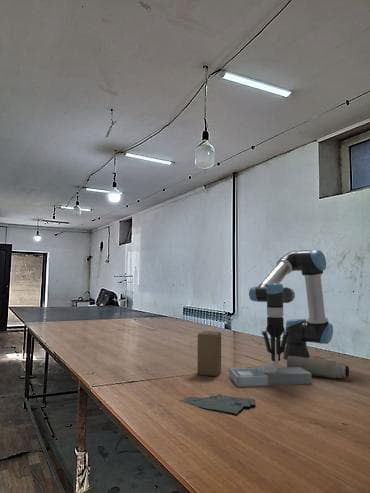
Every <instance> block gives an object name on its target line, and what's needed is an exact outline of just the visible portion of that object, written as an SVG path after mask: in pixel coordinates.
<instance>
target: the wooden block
mask: <svg viewBox="0 0 370 493" xmlns="http://www.w3.org/2000/svg"><path fill="white" fill-rule="evenodd" d="M196 367H197V369H196V370H197V371H196V372H197V375H199V376H208V377H217V376H218V375H219V374H220V373H221V372H222V333H221V332H220V331H210V330H209V331H208V330H204V331H203V330H202V332H199V333H198V334H197V366H196Z"/></svg>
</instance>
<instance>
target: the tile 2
mask: <svg viewBox="0 0 370 493" xmlns="http://www.w3.org/2000/svg"><path fill="white" fill-rule="evenodd" d="M259 369H260V370H261V371H262V372H264V373H276V372H277V366H276V365H275V364H273V362H259Z"/></svg>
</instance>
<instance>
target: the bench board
mask: <svg viewBox="0 0 370 493" xmlns="http://www.w3.org/2000/svg"><path fill="white" fill-rule="evenodd" d="M265 374H266V375H267V376H269V386H271V385H276V386H277V385H280V386H281V385H312V383H313V382H312V376H313V375H312V374H311V373H310V372H308V371H306V370H304V369H303V368H301V367H289V368H287V367H278V369H277V372H276V373H265Z"/></svg>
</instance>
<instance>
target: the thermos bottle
mask: <svg viewBox="0 0 370 493" xmlns="http://www.w3.org/2000/svg"><path fill="white" fill-rule="evenodd" d="M289 367H301V368H303V369H304V370H306V371H308V372H310V373H311V374H312V376H314V377H322V378H328V379H337V378H338V379H341V378H342V377H343V378H344V377H345V378H346V377H347V378H349V376H350V367H349V366H348V365H346V366H345V365H343V364H342V363H340V362H337V361H335V360H327V359H319V358H313V357H310V358H304V357H296V356H289V357H288V359H286V368H289Z"/></svg>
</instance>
